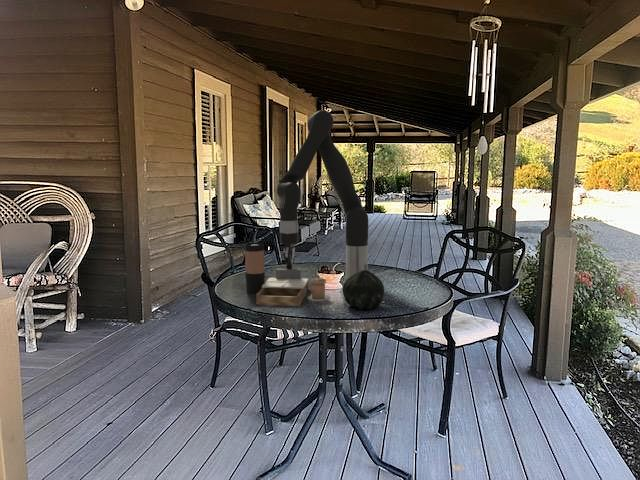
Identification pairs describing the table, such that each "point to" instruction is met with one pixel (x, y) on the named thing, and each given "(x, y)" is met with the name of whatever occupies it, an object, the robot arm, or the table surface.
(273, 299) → the box
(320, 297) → the pot
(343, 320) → the table surface
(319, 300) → the saucer
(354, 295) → the squash
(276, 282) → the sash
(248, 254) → the travel mug
